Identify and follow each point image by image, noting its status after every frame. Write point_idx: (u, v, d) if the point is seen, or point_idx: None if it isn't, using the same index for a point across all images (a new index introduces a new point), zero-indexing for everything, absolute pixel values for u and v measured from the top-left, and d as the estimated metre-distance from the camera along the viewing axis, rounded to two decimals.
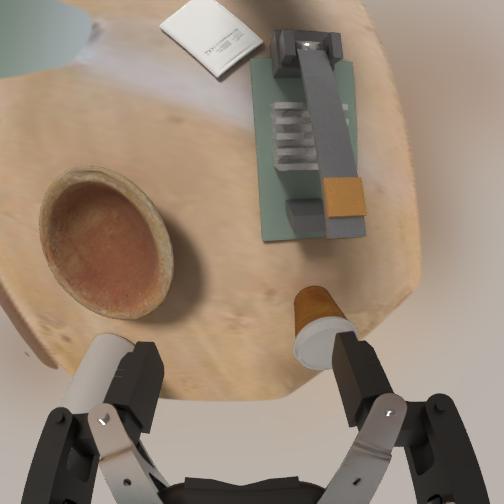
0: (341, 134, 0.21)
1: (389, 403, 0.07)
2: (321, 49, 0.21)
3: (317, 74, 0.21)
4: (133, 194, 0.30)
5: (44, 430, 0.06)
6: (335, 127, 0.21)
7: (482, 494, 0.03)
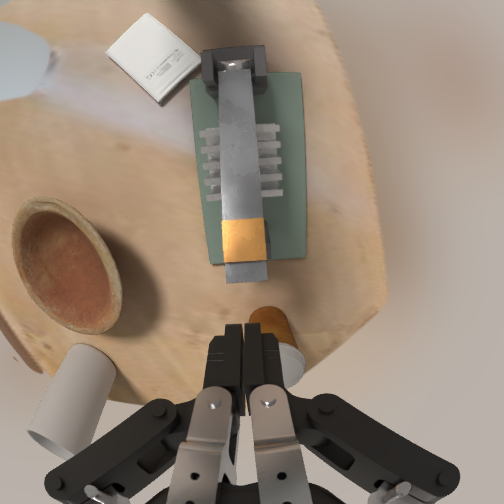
0: (249, 167, 0.21)
1: (265, 395, 0.08)
2: (245, 68, 0.21)
3: (234, 99, 0.21)
4: (82, 224, 0.30)
5: (135, 415, 0.07)
6: (244, 160, 0.21)
7: (429, 457, 0.05)
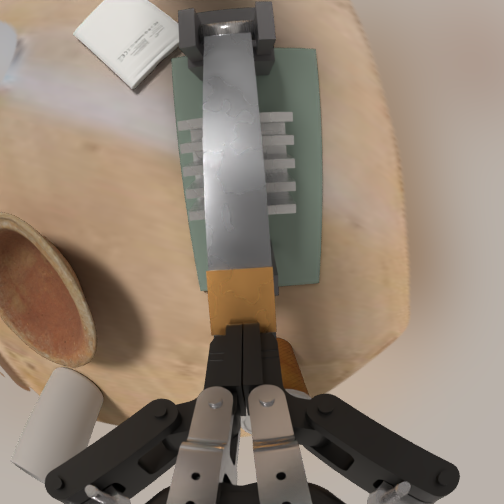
0: (250, 181, 0.13)
1: (263, 395, 0.08)
2: (243, 31, 0.13)
3: (227, 73, 0.13)
4: (41, 246, 0.22)
5: (136, 415, 0.07)
6: (241, 169, 0.13)
7: (428, 457, 0.05)
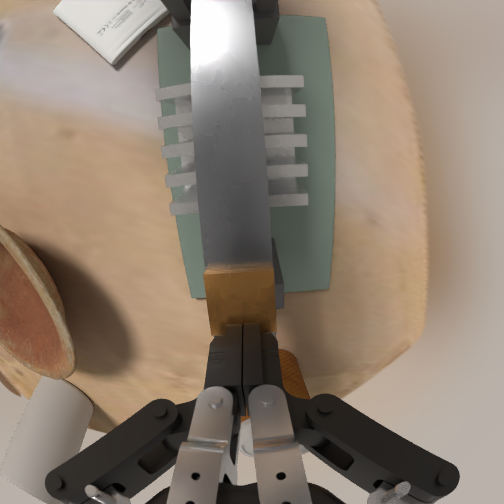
0: (249, 171, 0.11)
1: (263, 395, 0.08)
2: None
3: (220, 35, 0.10)
4: (10, 248, 0.17)
5: (136, 415, 0.07)
6: (238, 156, 0.11)
7: (428, 457, 0.05)
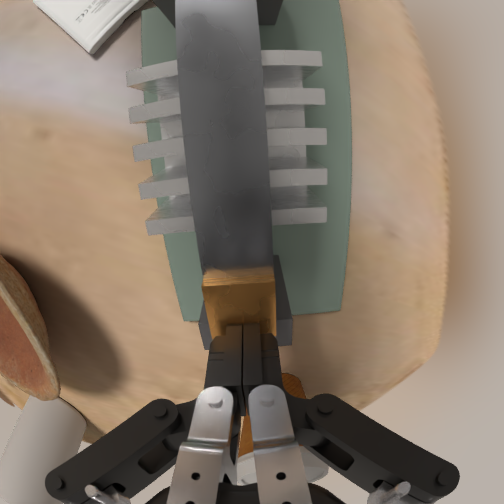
0: (249, 176, 0.10)
1: (263, 395, 0.08)
2: None
3: (212, 8, 0.07)
4: None
5: (136, 415, 0.07)
6: (237, 159, 0.10)
7: (428, 456, 0.05)
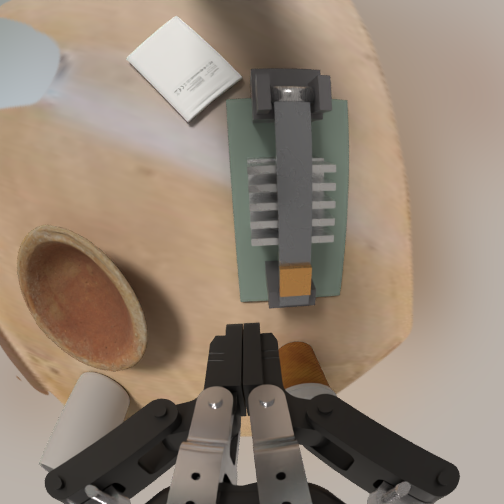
0: (304, 223, 0.24)
1: (263, 395, 0.08)
2: (305, 101, 0.20)
3: (293, 145, 0.21)
4: (101, 261, 0.28)
5: (136, 415, 0.07)
6: (299, 216, 0.24)
7: (428, 456, 0.05)
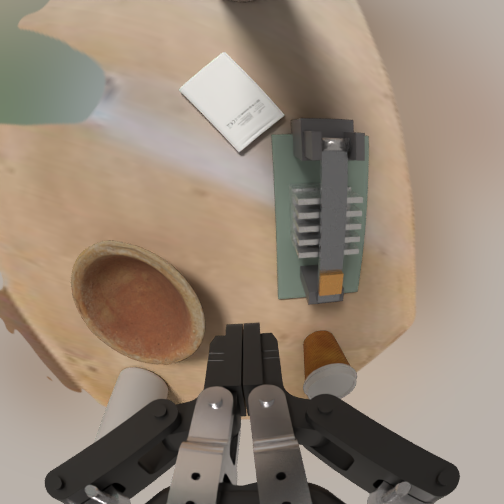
0: (339, 241, 0.32)
1: (263, 395, 0.08)
2: (344, 151, 0.27)
3: (334, 185, 0.29)
4: (168, 271, 0.35)
5: (136, 415, 0.07)
6: (336, 236, 0.32)
7: (428, 457, 0.05)
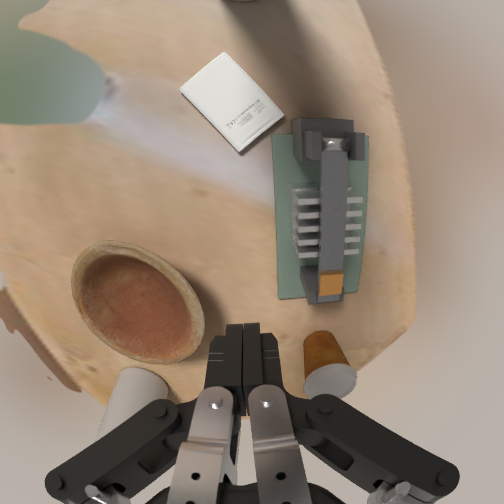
0: (339, 241, 0.32)
1: (263, 395, 0.08)
2: (344, 151, 0.27)
3: (334, 185, 0.29)
4: (168, 271, 0.35)
5: (136, 415, 0.07)
6: (336, 236, 0.32)
7: (428, 457, 0.05)
